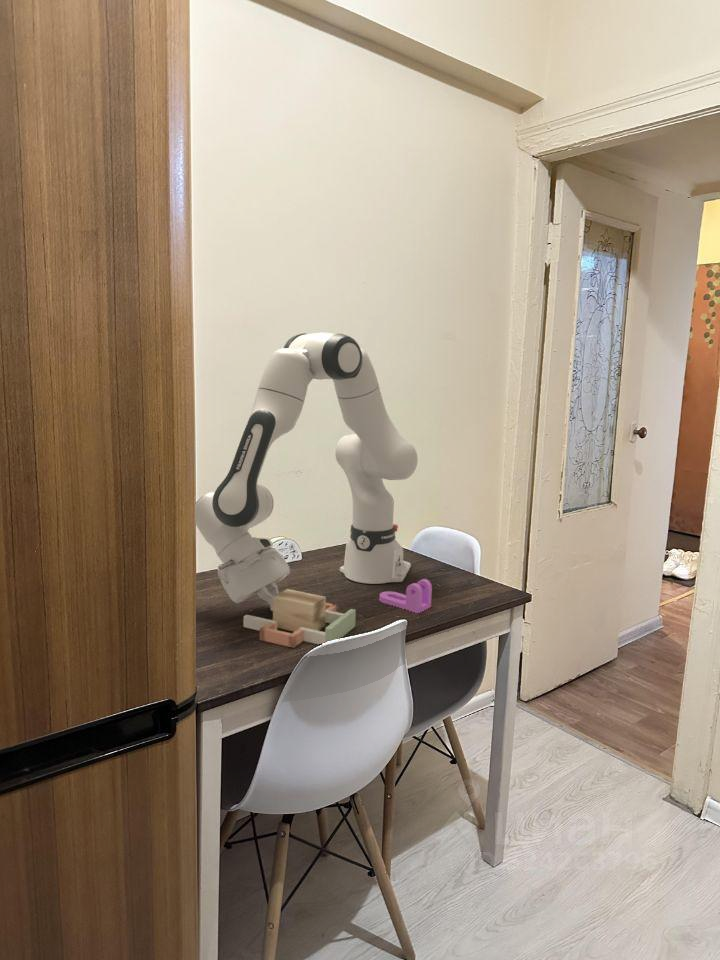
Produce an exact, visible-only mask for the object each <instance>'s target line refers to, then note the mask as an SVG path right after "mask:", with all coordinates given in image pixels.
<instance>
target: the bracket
mask: <svg viewBox="0 0 720 960" xmlns="http://www.w3.org/2000/svg"><path fill="white" fill-rule="evenodd" d="M432 593H433V585H432V583H431V581H430V580H429V579H427V578H422V579H420V580H417V582H414V583H411V584H409V585H407V586H406V590H405V594H403V593H399V592H397V591H388V590H387V591H383V592H380V593H379V601H380V603H383V604H386V605H389V606H392V605H393V606H392V607H395V606H396V608H398V607H399V608H398V609H401V608H402V610H404V609H406V610H405V611H407V610H409V611H408V612H411V611H412V612H411V613H414V612H415V613H414V614H417V613H419V614H421V613H422V611H423V612H425V611H427V610H429V609H431V608H430V607H432ZM428 608H429V609H428ZM426 609H427V610H426ZM424 610H425V611H424ZM420 612H421V613H420Z"/></svg>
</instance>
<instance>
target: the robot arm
mask: <svg viewBox="0 0 720 960" xmlns="http://www.w3.org/2000/svg"><path fill="white" fill-rule="evenodd" d="M313 380H332V382H333V384H334V385H333V386H334V390H335V394H336V398H337V401H338V404H339V408H340V411H341V415H342V418H343V419H342V420H343V421H344V423H345V426H347V427H348V428H349V429H350V430H351V431H353V432H354V433H351V434H346V435H344V436H342V437H341V438H340V439H339V440H338V442H337V444H336V447H335V453H334V454H335V460H336V461H337V464H338V465H339V466H340V467H341V468H342V470H343V472H344V474H345V476H346V478H347V481H348V483H349V488H350V491H351V496H352V524H351V525H350V532H349V534H350V537H349V538H350V540H349V541H348V542H347V543H346V544H345V552H344V553H345V554H344V561H343V562H344V563H343V565H341V566H340V567H339V572H340V573H343V574H344V576H345V577H346V578H347V579H349V580H351V581H353V582H356V583H361V584H370V585H372V584H373V585H374V584H375V585H377V584H386V583H402V582H403V581H405V580H404V579H406V576H407V574H408V573H409V571H410V569H411V567H412V563H410V562H408V561H406V560H404V547H402V546H401V544H399V542H398V541H397V540H396V533H397V531H398V529H399V525H398V524H394V510H395V509H394V506H395V499H394V498H393V496H392V494H391V493H390V491H388V489H387V488H386V486H385V484H384V481H383V480H387V481H400V480H401V481H403V480H407V479H409V478H410V477H411V476H412V475H413V474H414V473H415V471H416V469H417V465H418V453H417V451H416V449H415V448H416V447H414V446H413V445H412V444H411V443H409V441H407V440H406V439H405V438H404V437H403V436H402V435H401V434H400V432H399V431H398V430H397V428H396V427H395V424H394V423H393V422H392V419H391V418H390V417H389V414H388V412H387V410H386V406H385V403H384V400H383V395H382V393H381V388H380V385H379V381H378V377H377V374H376V371H375V368H374V365H373V364H372V361H371V359H370V357H369V355H368V353H367V352H366V351H365V349H363V348H362V347H360V345H359V343H358V342H357V341H356V340H355V339H354V338H353V337H351V336H350V335H346V334H343V333H332V332H324V331H323V332H321V331H320V332H315V333H313V332H312V333H307V332H306V333H299V334H296V335H294V336H291V338H289V339H288V340H287V341H286V342H285V344H284V346H283V347H282V348H279V349H276V350H275V351H274V352H273V353H272V354H271V355H270V358H269V360H268V361H267V364H266V366H265V368H264V371H263V373H262V376H261V378H260V382H259V384H258V387H257V390H256V394H255V398H254V401H253V405H252V408H251V411H250V415H249V417H248V420H247V423H246V425H245V428H244V430H243V433H242V436H241V437H240V441H239V444H238V446H237V449H236V452H235V455H234V457H233V460H232V464H231V466H230V469H229V471H228V473H227V475H226V477H225V478H224V479H223V480H222V482H221V483H220V484H219V485H218V487H216V489H215V491H208V492H207V493H205V494H204V495H202V496H201V497H200V498H199V499H198V500H197V501H196V502H195V504H196V524H195V526H196V527H197V529H198V531H199V532H200V534H201V535H202V537H203V538H204V540H205V541H206V542H207V543H208V544H209V545H211V546H212V548H214V551H215V553H216V556H217V557H218V559H219V560H220V561H221V563H222V564H219V565H218V567H217V576H218V577H219V579H220V582H221V585H222V586H223V588H224V591H225V592H226V593H227V595H228V596H229V598H230V600H231V601H232V602H234V603H235V604H240V603H242V602H244V601H246V600H248V599H250V598H251V597H252V596H254V595H256V594H257V596H258V597H259V598H260V599H261V600H263V601H265V602H266V603H268V605H269V606H270V608H271V607H273V597H274V596H276V595H277V594H279V593H280V592H279V588H278V585H277V583H279V582H281V581H282V580H283V579H285V578H286V577H288V575H289V574H290V573H291V568H290V566H289V564H288V562H287V561H286V560H285V558H284V557H283V556H282V554H281V553H280V552H279V550H277V549H276V548H274V547H273V545H274V544H273V541H272V540H271V539H270V538H263V537H262V538H260V537H256V536H252V535H251V534H250V531H249V529H251V528H253V527H256V526H257V525H259V524H261V523H263V522H264V521H266V520H267V519H268V518H269V517H270V516H271V514H272V513H273V509H274V499H273V496H272V493H271V491H269V489H267V488H266V487H265V486H263V485H261V484H258V482H259V481H258V480H259V478H260V474H261V472H262V469H263V466H264V463H265V460H266V457H267V455H268V452H269V450H270V448H271V446H272V444H273V443H274V442H275V441H276V440H277V439H278V438H280V437H281V436H284V435H286V434H288V433H289V432H291V431H292V430H293V429H294V428H295V426H296V423H297V422H298V420H299V418H300V416H301V413H302V410H303V407H304V404H305V401H306V396H307V392H308V388H309V387H308V386H309V385H310V383H311V382H312V381H313Z"/></svg>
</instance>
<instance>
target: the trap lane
mask: <svg viewBox="0 0 720 960" xmlns="http://www.w3.org/2000/svg"><path fill="white" fill-rule="evenodd" d="M270 611H271V612H273V607H271V606H270ZM356 611H357V610H356V609H353V608H350V609H349V610H347V611H346V612H345V613H343V612H339V605H338V604H333V603H329V602H326V608H325V624H329V625H328V626H325V627H324V628H325V629H324V630H325V631H321V630H319V631H318V630H313V629H309V628H304V627H300V628H299V629H298V630H296V631H295V632H293V631H292V633H291V632H287V631H282V630H278V628H277V621H273V619H268V618H264V617H259V616H256V615H250V614H245V615H243V628H247V629H251V630H256V631H258V632H259V641H262V642H267V643H272V644H275V645H279V646H284V647H289V648H291V647H292V648H293V649H295V648H296V647H297V646H298V645H300V644H302V642H306V643H310V644H315V645H319V644H321V643H324V642H327V641H330V640H333V639H337V638H340V637H342V638H344V637H345V636H346V635H347V634H348V633H349V632H350V631H351V630H353V629H355V627H356V616H357V615H356V614H357V612H356ZM319 646H320V645H319Z"/></svg>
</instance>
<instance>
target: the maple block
mask: <svg viewBox="0 0 720 960" xmlns="http://www.w3.org/2000/svg"><path fill="white" fill-rule="evenodd" d="M326 600H327V597H326V595H325V596H324V595H319V594H314V593H309V592H305V591H300V590H294V589H289V588H285V590H282V591H281V592H279V594H277V595H276V596H274V597H273V611H272V620H273V621H277V629H282V630H285V631H289V632H292V633H293V632H295V631H296V630H298V629H299V628H300V627H304V628H309V629H313V630H318V631H321V630H322V629H323V628H326V622H325V608H326V603H327V602H326Z"/></svg>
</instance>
